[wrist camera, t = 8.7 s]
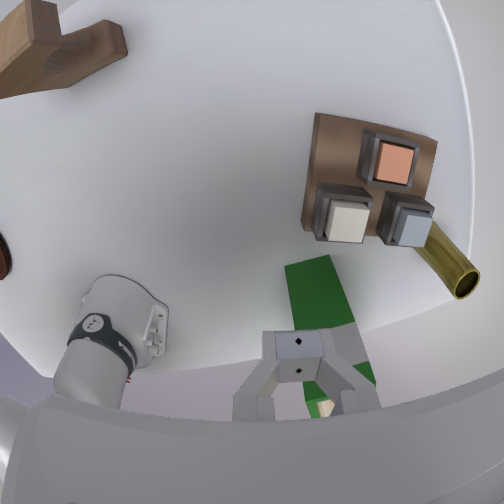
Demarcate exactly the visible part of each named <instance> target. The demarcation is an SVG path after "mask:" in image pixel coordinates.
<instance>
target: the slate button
mask: <svg viewBox="0 0 504 504" xmlns="http://www.w3.org/2000/svg"><path fill="white" fill-rule="evenodd" d="M432 221H433V218H432V217H431V216H430V215H429V214H428V213H426V212H425V211H424V210H420V209H413V208H407V207H400V211H399V215H398V218H397V222H396V225H395V228H394V232H393V235H392V238H393V239H394V240H395V242H396V243H397V244H398V245H400V246H413V247H424V244H425V242H426V239H427V236H428V233H429V230H430V227H431V224H432Z"/></svg>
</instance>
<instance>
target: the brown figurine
mask: <svg viewBox="0 0 504 504" xmlns="http://www.w3.org/2000/svg"><path fill="white" fill-rule="evenodd" d="M10 261H11V259H10V258H8V257H7V253H6V251H5V248H4V246H3V244H2V242H1V241H0V280H3V279H4V278H5V277H6V276H7V274H8V272H9V263H10Z"/></svg>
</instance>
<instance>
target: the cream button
mask: <svg viewBox="0 0 504 504" xmlns="http://www.w3.org/2000/svg"><path fill="white" fill-rule="evenodd" d="M369 212H370V210H369V209H368V208H367V207H366V205H365V204H364V203H363V202H361V201H352V200H343V199H333V198H329V203H328V208H327V214H326V219H325V224H324V229H323V230H324V232H325V234H326V236H327V238H328V241H342V242H357V243H362V239H363V235H364V232H365V228H366V224H367V220H368V216H369Z"/></svg>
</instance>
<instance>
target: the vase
mask: <svg viewBox="0 0 504 504" xmlns="http://www.w3.org/2000/svg"><path fill="white" fill-rule="evenodd" d="M413 248H414V249H415V250H416V251H417V252H418V253H419V254H420V255H421V257H422V258H423V259H424V260H425V261H426V262H427V263H428V264H429V265H430V267H431V268H432V269H433V270H434V271H435V272H436V273H437V274H438V276H439V277H440V278H441V280H442V281H443V282H444V284H445V285H446V287H447V288H448V289H449V291H450V292H451V293H452V295H453V296H454V297H455V298H456V299H464V298H465V297H467V296H469V295H470V294H471V293H472V292H473V291H474V290H475V289H476V287H477V285H478V283H479V281H480V272H479V271H478V270H477V269H476V268H475V267H474V266H473V265H472V264H471V262H470V261H469V260H468V259H467V258H466V257H465V255H464V254H463V253H462V252H461V251H460V250H459V249H458V248H457V247H456V246H455V245H454V244H453V242H452V241H451V240H450V239H449V238H448V237H447V236H446V235H445V234H444V232H443V231H442V230H441V229H440V228H439V227H438V226H437V224H436V223H435V222H434V221H432V224H431V227H430V230H429V233H428V236H427V239H426V242H425V244H424V247H421V248H416V247H413Z"/></svg>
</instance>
